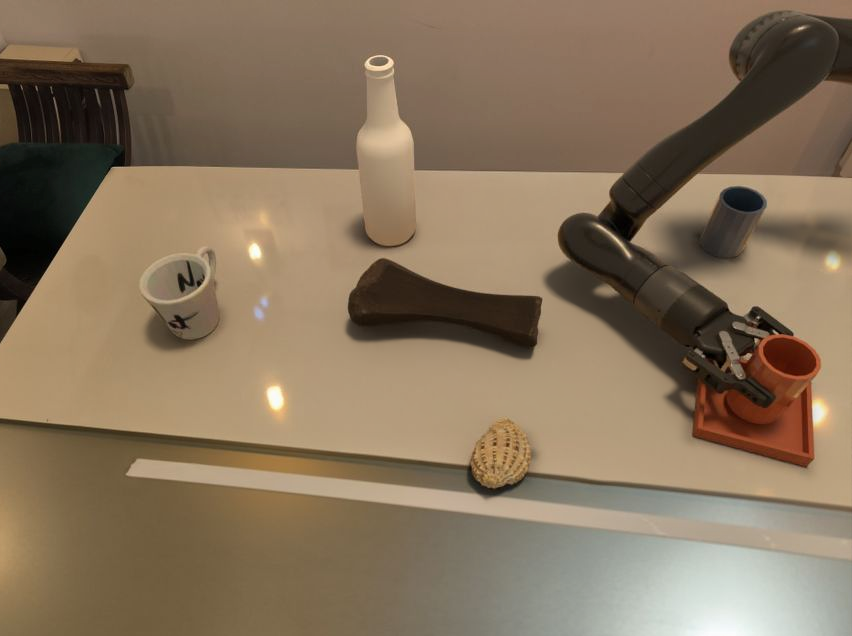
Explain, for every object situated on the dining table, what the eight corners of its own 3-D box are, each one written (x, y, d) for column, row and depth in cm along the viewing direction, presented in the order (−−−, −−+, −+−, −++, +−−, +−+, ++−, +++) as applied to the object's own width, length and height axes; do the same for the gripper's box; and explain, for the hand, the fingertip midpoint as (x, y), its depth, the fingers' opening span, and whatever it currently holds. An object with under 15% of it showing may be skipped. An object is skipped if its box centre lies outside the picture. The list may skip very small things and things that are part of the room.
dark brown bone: (349, 327, 96) (525, 367, 93) (340, 313, 85) (538, 358, 82) (366, 262, 97) (540, 300, 94) (358, 240, 87) (554, 282, 84)
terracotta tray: (803, 383, 82) (811, 374, 80) (806, 466, 75) (814, 459, 73) (699, 358, 86) (704, 350, 84) (692, 436, 78) (697, 428, 77)
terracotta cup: (753, 374, 82) (788, 326, 74) (793, 412, 78) (834, 366, 70) (714, 393, 80) (746, 346, 72) (753, 432, 76) (790, 387, 68)
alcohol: (367, 215, 109) (349, 47, 86) (416, 214, 108) (411, 44, 85) (364, 248, 104) (344, 79, 80) (415, 247, 103) (410, 76, 80)
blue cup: (743, 235, 100) (767, 190, 93) (742, 261, 97) (766, 217, 90) (700, 227, 102) (720, 182, 95) (698, 253, 98) (718, 208, 91)
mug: (150, 340, 94) (124, 295, 86) (196, 273, 102) (176, 228, 94) (209, 353, 91) (188, 309, 84) (251, 284, 100) (236, 238, 92)
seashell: (467, 448, 82) (471, 497, 73) (468, 410, 80) (472, 456, 71) (525, 449, 82) (536, 498, 73) (528, 411, 79) (540, 458, 70)
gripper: (650, 311, 77) (766, 400, 68) (724, 263, 81) (843, 341, 72) (634, 347, 83) (739, 434, 74) (704, 300, 87) (812, 377, 78)
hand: (790, 388), depth 73 cm, fingers closed on terracotta cup, 7 cm apart
